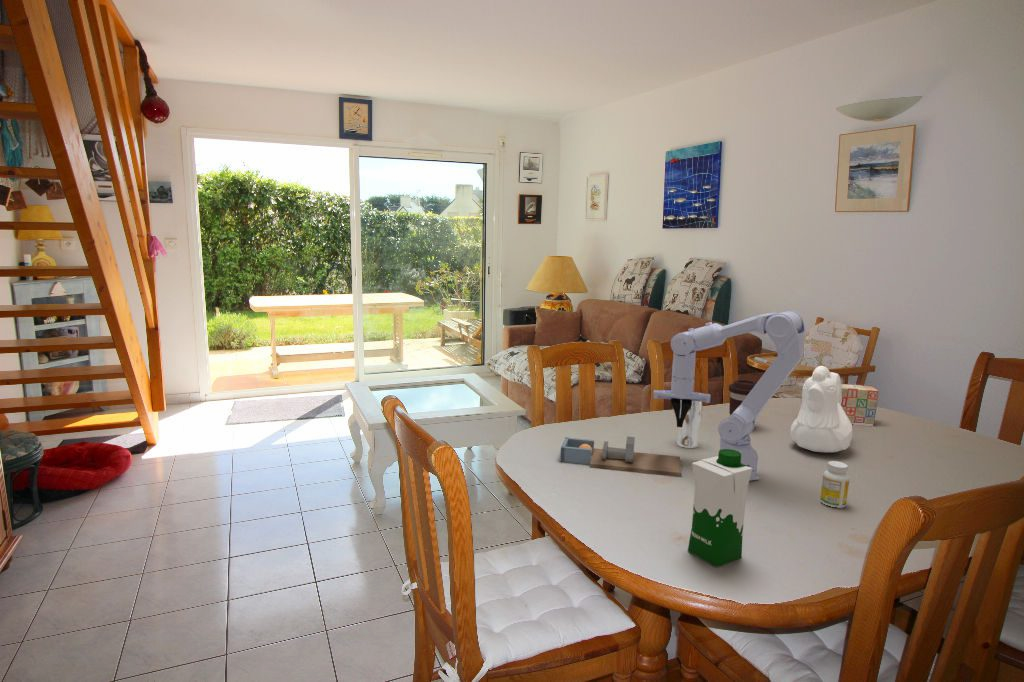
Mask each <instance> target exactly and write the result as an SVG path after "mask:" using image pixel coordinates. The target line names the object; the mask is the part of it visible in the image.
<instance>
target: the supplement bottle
mask: <svg viewBox="0 0 1024 682" xmlns="http://www.w3.org/2000/svg"><path fill="white" fill-rule="evenodd" d="M848 468H849V466H848V464H846V463H844V462H841V461H838V460H837V461H836V460H831V461H828V462H827V469H826V470H825V471H824V472H823V475H822V480H821V481H822V483H821V491H820V498H819V501H820V503H821V502H822V503H823V504H822V503H821V504H822V505H824V504H825V505H824V506H826V505H828V506H831V507H830V508H832V507H837V508H836V509H843V508H845V507H846V506H847V501H848V500H847V499H848V492H849V486H850V485H849V484H850V479H851V478H850V476H849V474H848V473H847V472H848ZM828 506H827V507H828ZM842 507H843V508H842Z"/></svg>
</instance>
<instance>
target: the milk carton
mask: <svg viewBox="0 0 1024 682" xmlns="http://www.w3.org/2000/svg"><path fill="white" fill-rule="evenodd" d="M691 465H692V470H693V471H692V472H693V477H694V493H693V508H692V518H691V519H692V521H691V523H692V524H691V530H690V536H689V542H688V546H687V551H688V552H689V553H691V554H693V555H695V556H696V557H698V558H700V559H701V560H702V561H703V560H704V561H705V562H707V563H709V564H710V565H712V566H714V567H716V568H718V567H721V566H723V565H725V564H729V563H732V562H734V561H735V560H738V559H741V558H742V556H743V555H742V553H743V535H744V524H745V523H744V522H745V515H746V514H745V513H746V512H745V510H746V504H747V502H746V501H747V491H748V487H749V483H750V481H751V480H750V476H751V472H752V468H750V467H747V466H746V465H744V464H742V463H741V453H740V452H738V451H735V450H731V449H722V450H720V449H719V450H718V455H716V456H711V457H707V458H702V459H700V460H698V461H695V462H691ZM749 480H750V481H749Z"/></svg>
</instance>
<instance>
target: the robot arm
mask: <svg viewBox="0 0 1024 682" xmlns="http://www.w3.org/2000/svg"><path fill="white" fill-rule="evenodd" d="M704 324H705V325H704V326H700V327H697V328H694V327H691V328H688V329H687V330H688V331H684V332H679V333H676V334H675V335H673V337H671V340H670V348H671V350H672V352H673V354H672V355H673V358H672V369H671V384H670V389H669V390H667V389H663V390H662V389H661V390H657V389H654V390H653V399H654V400H659V399H661V400H662V399H663V400H670V404H671V407H672V409H673V411H674V416H675V420H676V427H677V428H679V427H682V426H683V422H684V419H685V417H686V414H687V413H688V411H689V409H690V408H691V406H692V401H699V402H703V403H706V404H711V394H710V393H703V392H696V391H694V386H695V385H694V384H695V372H696V371H695V369H696V356H697V355H696V354H697V351H703V350H708V349H710V348H714V347H718V346H722V345H724V343H725V341H726V340H727V339H728V338H731V337H736V336H739V335H744V334H748V333H752V332H753V333H754V332H757V333H759V334H761V335H765V334H767V335H768V337H769V338H770V340H771V341H772V343H773V344H774V347H775V348H776V353H777V356H776V357H775V359H774V360H773V361H772V363H770V364H769V366H768V367H767V369H766V370H765V372H764V373H763V374H762V375H761V377H760V379H759V380H758V381H756V383H757V384H756V385H755V386H754V387H753V389H752V390H751V391H750V393H749V394H748V395H747V397H746V398H745V399H744V401H743V402H742V403H741V405H740V406H739V407H738V408H737V409H736V410H735V411H734V412H733V413H732V414H731V416H730V415H729V416H728V417H727V418H726V417H725V418H724V419H722V420H721V421H720V422H719V424H718V429H717V431H718V435H719V437H720V439H719V442H720V443H719V450H722V449H731V450H735V451H738V452H740V453H741V463H742V464H744V465H746V466H747V467H750V468H752V472H751V476H750V480H749V482H751V481H758V480H760V478H759V476H757V471H758V470H757V469H758V464H759V463H758V462H759V461H758V460H759V456H758V452H757V450H756V449H754V448H753V446H752V443H751V442H752V441H751V435H750V434H751V433H752V432H753V431H754V429H755V426H754V425H755V424H756V421H757V419H758V418H759V416H760V413H761V412H762V411H763V410H764V408H765V407H766V405H767V404H768V403H769V402H770V400H771V399H772V398H773V397H774V395H775V394H776V393H777V392H778V390H779V388H780V387H781V386H782V385H783V384H784V383H785V381H786V380H787V378H788V377H789V376H790V375H791V374H792V372H793V371H794V370H795V368H796V367H797V366H798V365H799V363H801V360H802V359H803V357H804V349H805V347H804V344H805V334H806V331H807V327H806V325H805V322H804V319H803V316H802V315H801V314H800V313H799V312H797V311H795V310H791V309H787V310H783V311H781V312H779V311H778V312H767V313H764V314H762V313H761V314H759V315H758V314H757V315H756V316H755V315H754V316H752V317H749V318H746V319H742V320H739V321H736V322H733V323H730V324H726V325H721V324H719V323H716V322H714V323H712V321H710V322H709V321H708V322H707V323H704ZM680 400H682V401H680ZM680 408H681V415H680Z"/></svg>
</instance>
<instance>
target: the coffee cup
mask: <svg viewBox="0 0 1024 682" xmlns="http://www.w3.org/2000/svg"><path fill="white" fill-rule="evenodd" d="M756 384H757V381H754V380H748V379H737V380H734V381H733V383H731V384H729V385H728V391H729V392H730V393H729V412H728V413H729V417H730V416H731V414H732V413H733V412H734V411H735V410H736V409H737V408H738V407H739V406H740V405H741V403H742V402H743V401H744V399H745V398H746V397H747V395H748V394H749V393H750V391H751V390H752V389H753V387H754V386H755V385H756ZM754 427H755V425H754Z"/></svg>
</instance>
